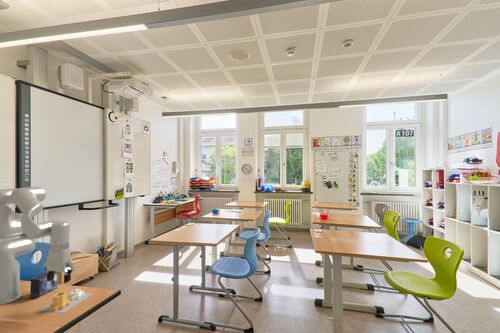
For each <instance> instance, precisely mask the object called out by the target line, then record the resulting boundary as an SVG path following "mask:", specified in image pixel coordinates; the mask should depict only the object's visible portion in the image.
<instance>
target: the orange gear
mask: <svg viewBox="0 0 500 333" xmlns="http://www.w3.org/2000/svg"><path fill="white" fill-rule="evenodd" d="M67 295H68V291H61V292H59V291H58V292H57V293H55V294H53V295H52V303H53V304H52V303H50V304H51V305H50V304H49V305H50V307H49V311H51V310H54V311H57V310H59V309H64V308H65V307H66V306H69V305H70V300H67Z"/></svg>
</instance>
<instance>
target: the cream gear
mask: <svg viewBox="0 0 500 333" xmlns="http://www.w3.org/2000/svg"><path fill="white" fill-rule="evenodd" d="M77 289H78V292H76V293H74V290H75V289H73V290H72V291H70V292H69V294H70V295H68V294H67V300H71V301H74V300H75V299H80V298H81V297H83V296H84V293H85V291H84V290H82V289H81V288H77Z"/></svg>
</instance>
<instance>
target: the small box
mask: <svg viewBox="0 0 500 333" xmlns="http://www.w3.org/2000/svg"><path fill="white" fill-rule="evenodd" d="M58 273H59V272H57V271H54V279H53V280H50V281H47V273H46V272H44V273H42V274H39V275H36V276H34V277H31V278H30V292H29V294H30V295H29V296H30V297H29V298H32V299H39V298H41V297H43V296H45V295H47V294H49V293H51V292H53V291H55V290H57V289H58V282H59V281H58V278H59V277H58V275H59V274H58Z"/></svg>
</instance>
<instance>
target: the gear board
mask: <svg viewBox="0 0 500 333" xmlns="http://www.w3.org/2000/svg"><path fill="white" fill-rule="evenodd" d="M78 289H79V288H75V289H73V290H74V293H76V292H78ZM67 295H70V293H67ZM93 295H95V293H92V292H84V296H83V297H81V298H80V299H75V300H74V301H71V300H70V305H69V306H66V307H65V308H64V309H59V310H57V311H54V310H51V311H49V307H50V305H51V304H53V302H52V303H49V305H47V306H45V307H43V308H40V310H39V312H49V313H60V314H61V313H62V314H64V313H65V312H67V311H69V310H70V309H72V308H74V307H76V306H77V305H79V304H80V303H81V302H82V303H83V301H85V300H86V299H88V298H90V297H91V296H93Z"/></svg>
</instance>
